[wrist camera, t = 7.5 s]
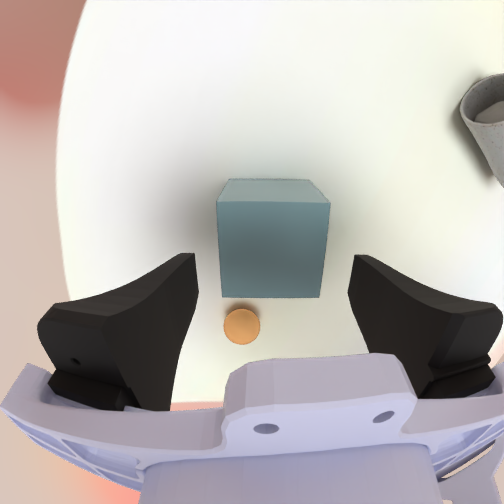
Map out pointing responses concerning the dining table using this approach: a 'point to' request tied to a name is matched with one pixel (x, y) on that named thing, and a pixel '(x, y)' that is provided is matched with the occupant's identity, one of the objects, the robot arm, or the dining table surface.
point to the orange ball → (241, 326)
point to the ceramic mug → (487, 120)
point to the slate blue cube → (272, 238)
